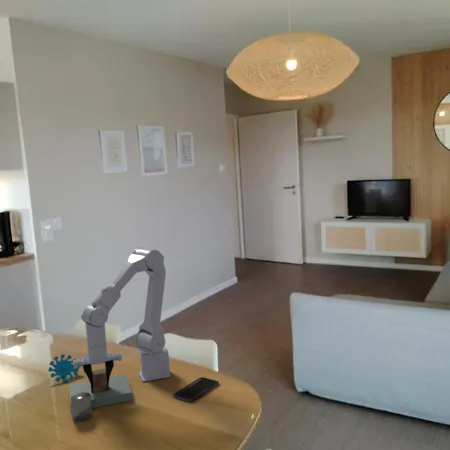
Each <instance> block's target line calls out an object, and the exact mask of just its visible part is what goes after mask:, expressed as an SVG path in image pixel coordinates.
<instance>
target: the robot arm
mask: <svg viewBox="0 0 450 450" xmlns="http://www.w3.org/2000/svg"><path fill="white" fill-rule="evenodd" d="M164 261H165V256H164V255H163V254H162V252H160V250H158V249H150V248H145V247H136V248H135V249H134V250H133V252H132V253H131V254H130V255H129V257H128V260H127V262H126V264H125V265H124V266H123V268H122V269H121V271H120V273H119V274H118V275H117V277H116V278H115V279H114V281H113V282H112V284H110V285H106V286H105V287H102V288H101V290H100V294H99V293H98V296H96V298H95V299H94V300H93V301H92V302H91V305H87V306H86V307H85V308H84V309H83V312H82V314H81V315H80V316H81V320H82V321H83V322H84V324H85V334H86V346H87V347H86V348H87V356H84V357H82V358H79V359H76V360H73V359H72V360H73V363H72V364H73V365H74V368H78V367H80V368H82V369H83V372H84V374H85V376H86V377H87V378H88V381H90V384H91V388H94V387H93V379H92V371H93V369H92V365H101V364H104V368H105V371H106V379H107V385H109V378H110V377H111V374H112V371H113V369H114V366H115V361H119V362H121V361H123V357H122V356H123V354H122V352H113V353H112V352H109V353H108V351H107V350H108V348H107V337H106V336H107V334H106V323H107V322H108V319H109V313H110V311H111V310H112V309H113V307H114V306H115V304H116V303H117V302H118V301H119V300H120V298H121V296H122V294H121V292H122V290H123V289H124V288H125V287H126V285H127V284H128V283H129V282H130V281H131V280H132V278H133V277H134V276H135V275H136V274H137V273H142V272H145V274H147V276H148V284H147V291H146V292H147V293H146V301H145V308H144V309H145V310H144V316H143V317H144V319H143V322H142V323H140V324H139V326H138V330H137V334H136V335H135V343H136V345H137V346H138V347H139V351H140V352H139V353H140V366H141V370H140V371H139V372H138V373H139V376H140V379H141V381H142V382H149V381H155V380H159V379H160V380H161V379H165V378H170V377H171V371H170V369H171V367H170V355H169V354H170V353H169V349H167V347H165V345H166V338H165V329H164V327H163V326H162V324H161V317H162V309H163V301H164V300H163V299H164V291H165V285H166V284H165V283H166V274H167V271H166V267H165V263H164Z"/></svg>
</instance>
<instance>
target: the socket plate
mask: <svg viewBox="0 0 450 450" xmlns="http://www.w3.org/2000/svg"><path fill="white" fill-rule="evenodd" d="M129 382H130V381H129V379H128V376H127V374H122V375H121V374H120V375H115V376H110V378H109V385H107V391H103V392H98V393H94V392H93V388H91V384H90V381H89V380H87V381H81V382H76V383H71V384H69V401H70V402H69V403H70V404H69V405H70V406H71V397H72V396H73V395H75V394H77V393H82V392H86V393H90V395H91V406H92V409H94V408H99V407H103V406H109V405H114V404H119V403H124V402H129V401H133V392H132V389H131V385H130V383H129ZM70 412H71V413H72V409H71V408H70Z"/></svg>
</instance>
